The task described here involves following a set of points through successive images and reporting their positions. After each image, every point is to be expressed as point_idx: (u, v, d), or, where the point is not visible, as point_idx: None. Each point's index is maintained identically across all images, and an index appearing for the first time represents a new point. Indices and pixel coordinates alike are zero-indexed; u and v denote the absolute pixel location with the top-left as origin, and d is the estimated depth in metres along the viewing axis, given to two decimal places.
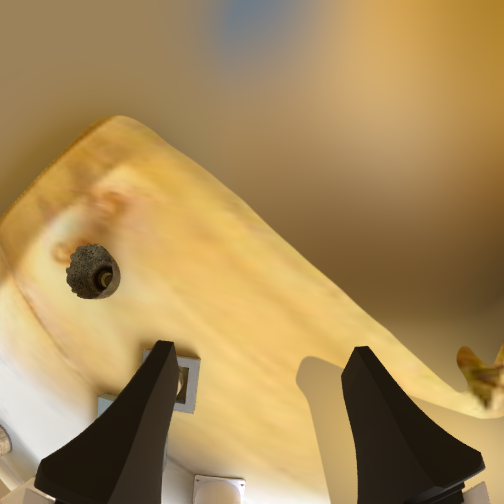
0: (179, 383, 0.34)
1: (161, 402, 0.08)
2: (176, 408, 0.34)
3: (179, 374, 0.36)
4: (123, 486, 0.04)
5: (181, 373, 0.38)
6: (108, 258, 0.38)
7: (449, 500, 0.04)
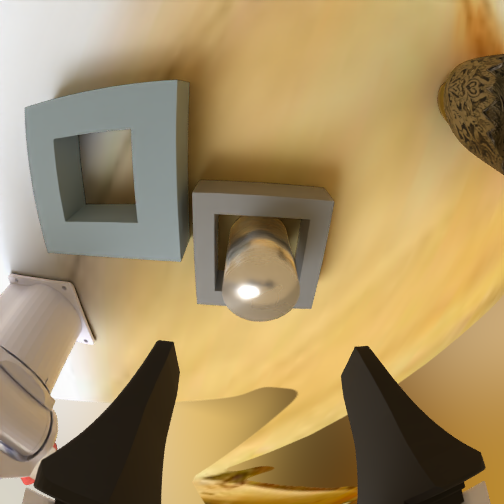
0: None
1: (161, 402, 0.08)
2: (201, 276, 0.18)
3: None
4: (123, 486, 0.04)
5: None
6: None
7: (449, 500, 0.04)
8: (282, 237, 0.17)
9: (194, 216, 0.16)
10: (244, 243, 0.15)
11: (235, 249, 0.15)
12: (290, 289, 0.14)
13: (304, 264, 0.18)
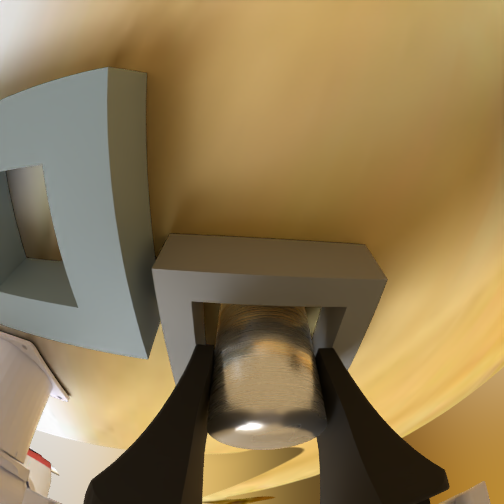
0: None
1: (205, 407, 0.08)
2: (180, 371, 0.12)
3: None
4: (185, 499, 0.04)
5: None
6: None
7: (449, 500, 0.04)
8: (301, 333, 0.10)
9: (160, 302, 0.10)
10: (240, 355, 0.09)
11: (225, 362, 0.09)
12: (311, 426, 0.08)
13: None
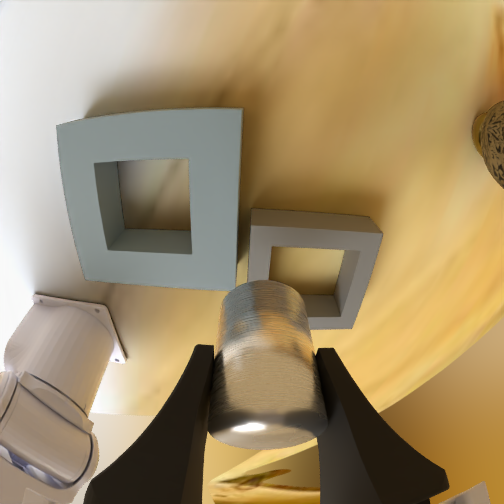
0: None
1: (205, 407, 0.08)
2: None
3: None
4: (185, 499, 0.04)
5: None
6: None
7: (449, 500, 0.04)
8: (301, 333, 0.10)
9: (251, 248, 0.16)
10: (241, 355, 0.09)
11: (226, 362, 0.09)
12: (312, 426, 0.08)
13: (350, 290, 0.18)
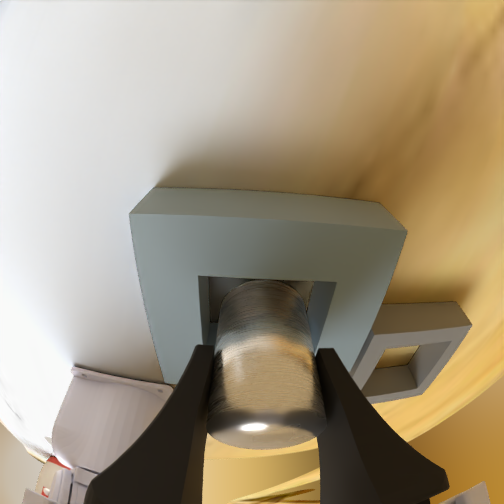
0: None
1: (205, 407, 0.08)
2: None
3: None
4: (185, 499, 0.04)
5: None
6: None
7: (449, 500, 0.04)
8: (300, 332, 0.10)
9: (367, 352, 0.14)
10: (239, 355, 0.09)
11: (224, 362, 0.09)
12: (311, 425, 0.08)
13: (432, 369, 0.16)
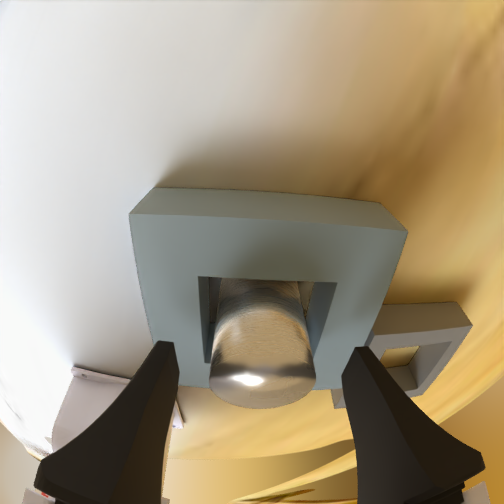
0: None
1: (161, 402, 0.08)
2: None
3: None
4: (123, 486, 0.04)
5: None
6: None
7: (449, 500, 0.04)
8: (291, 298, 0.12)
9: None
10: (238, 315, 0.11)
11: (225, 322, 0.11)
12: (302, 378, 0.10)
13: (433, 369, 0.16)
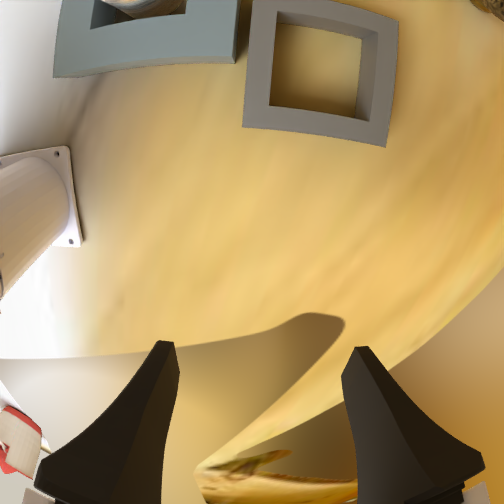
0: None
1: (161, 402, 0.08)
2: (253, 83, 0.12)
3: (167, 2, 0.10)
4: (123, 486, 0.04)
5: (172, 10, 0.12)
6: None
7: (449, 500, 0.04)
8: None
9: (253, 11, 0.10)
10: None
11: None
12: None
13: (376, 81, 0.12)
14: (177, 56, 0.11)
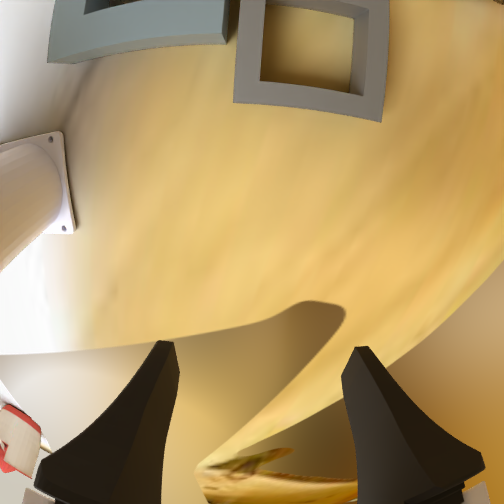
0: None
1: (161, 402, 0.08)
2: (243, 59, 0.12)
3: None
4: (123, 486, 0.04)
5: None
6: None
7: (449, 500, 0.04)
8: None
9: None
10: None
11: None
12: None
13: (368, 56, 0.11)
14: (167, 35, 0.10)
